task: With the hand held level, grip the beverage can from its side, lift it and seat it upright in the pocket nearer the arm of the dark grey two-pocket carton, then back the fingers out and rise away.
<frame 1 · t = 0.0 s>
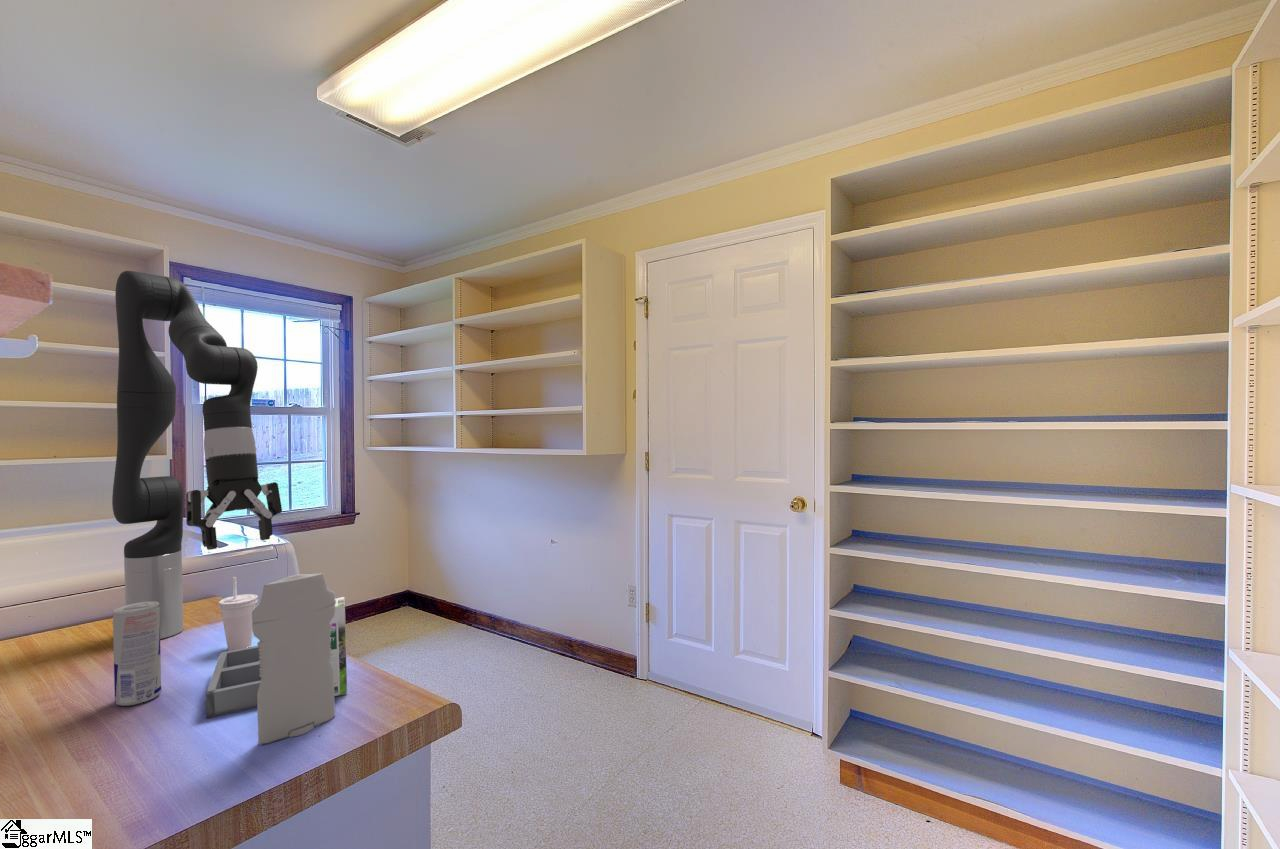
hand: (239, 544, 102), 22 cm above the counter, tool pointing down, fingers open, 8 cm apart
syrup box: (327, 692, 93), on the counter
beverage can: (138, 700, 91), on the counter
smoothie: (239, 648, 112), on the counter
dispenser: (298, 730, 81), on the counter
can carton: (249, 686, 95), on the counter
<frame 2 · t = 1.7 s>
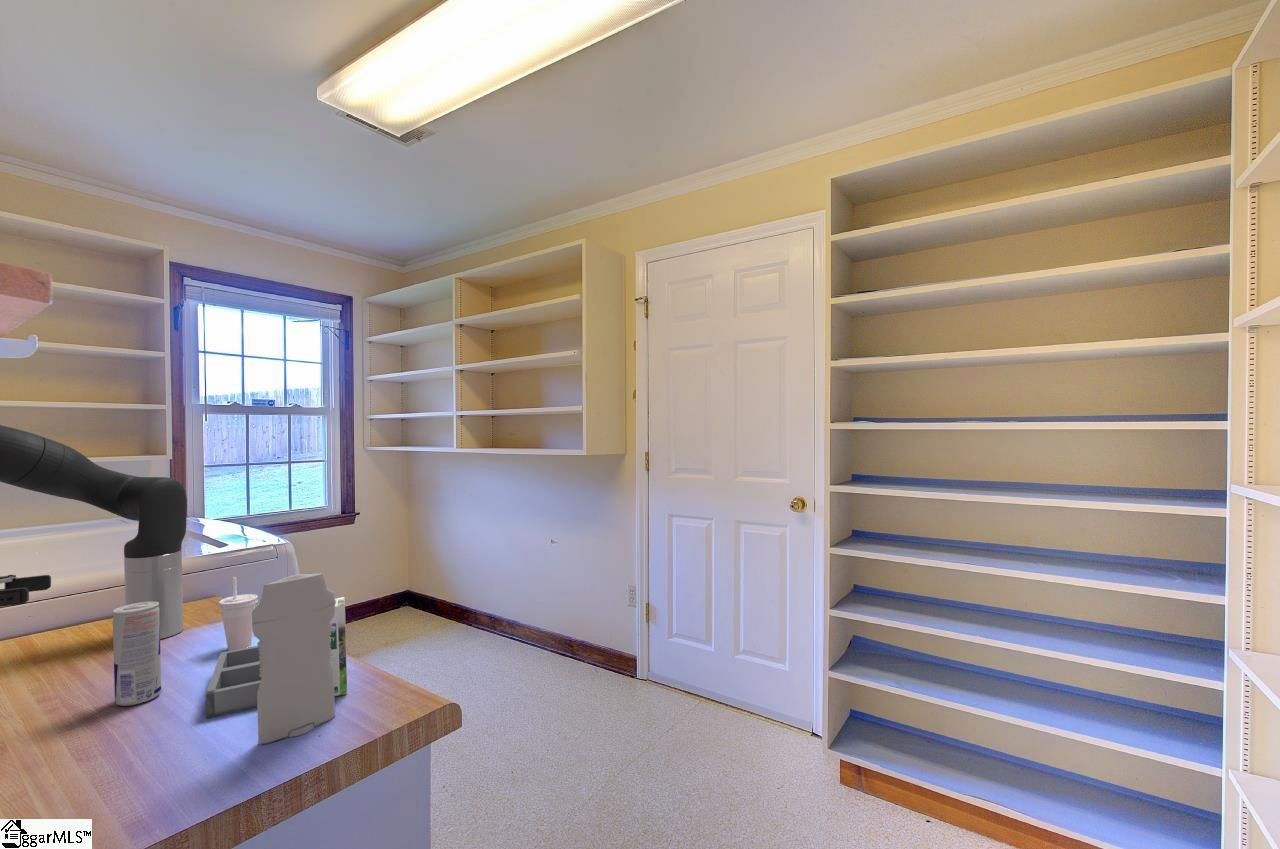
hand: (39, 588, 86), 20 cm above the counter, tool horizontal, fingers open, 8 cm apart
nothing on the counter moved.
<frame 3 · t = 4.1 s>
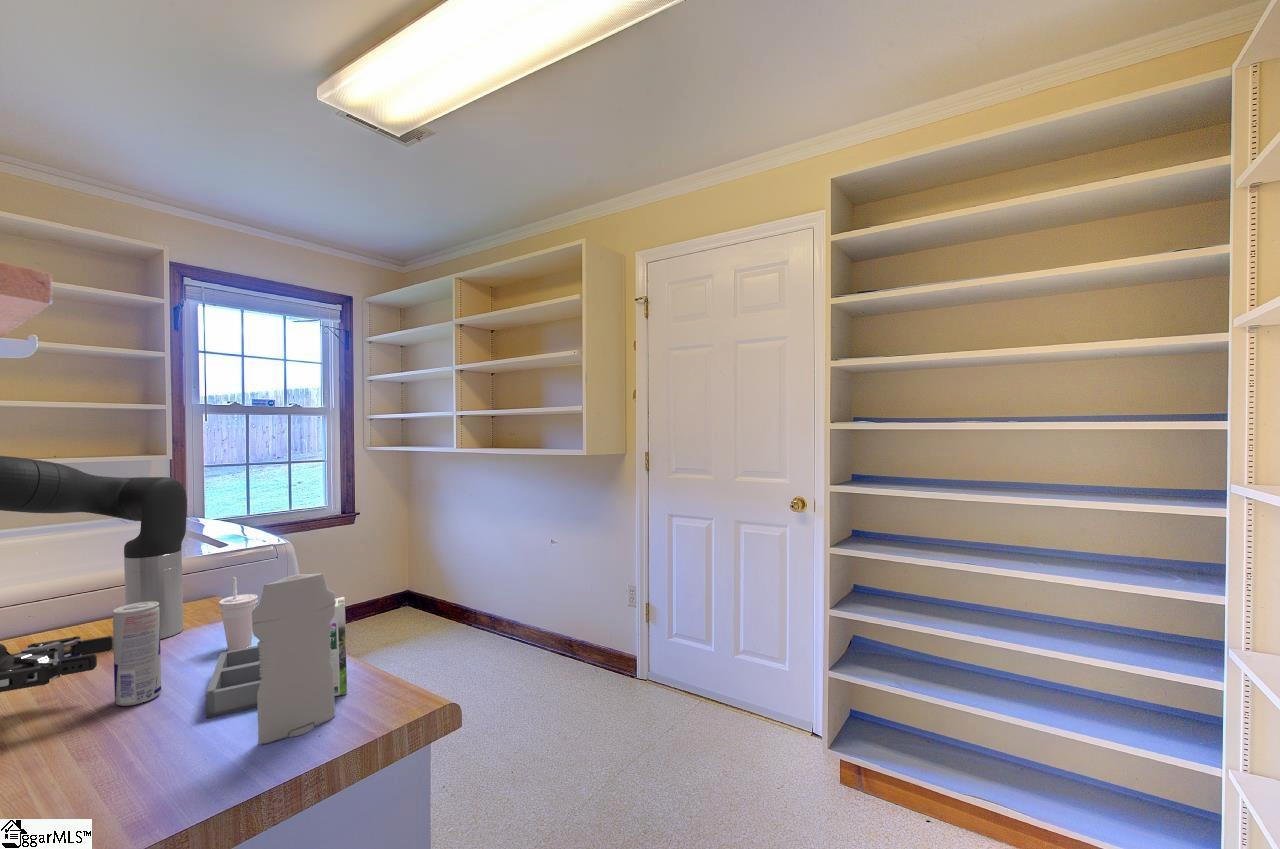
hand: (104, 651, 89), 8 cm above the counter, tool horizontal, fingers open, 8 cm apart
nothing on the counter moved.
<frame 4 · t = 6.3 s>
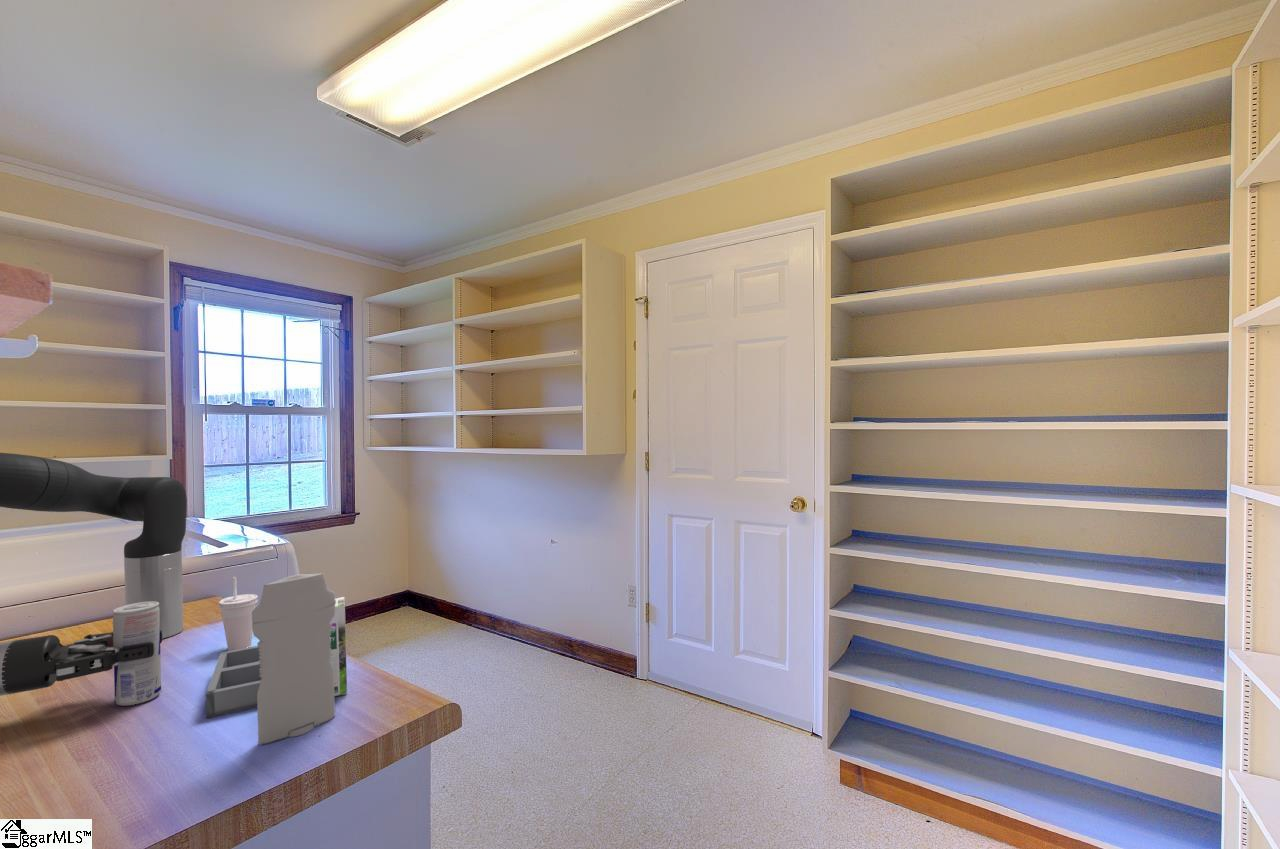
hand: (157, 642, 93), 9 cm above the counter, tool horizontal, fingers closed on beverage can, 5 cm apart
beverage can: (138, 700, 91), on the counter, touching gripper
everything else where it was.
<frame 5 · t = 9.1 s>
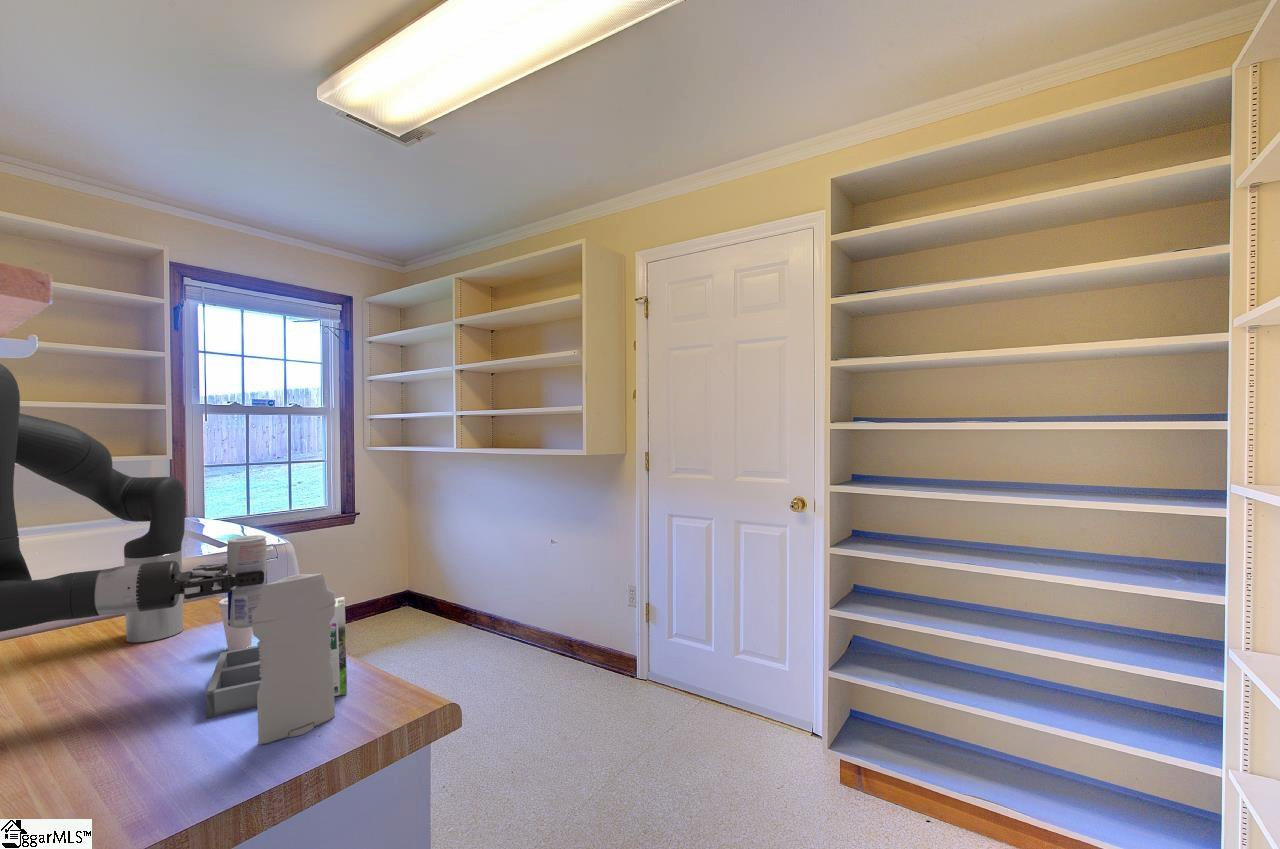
hand: (264, 572, 100), 18 cm above the counter, tool horizontal, fingers closed on beverage can, 5 cm apart
beverage can: (248, 625, 99), point 9 cm above the counter, touching gripper
everything else where it was.
when the fingers open (10 cm above the counter, at t = 11.8 s): beverage can stays where it is, resting on can carton.
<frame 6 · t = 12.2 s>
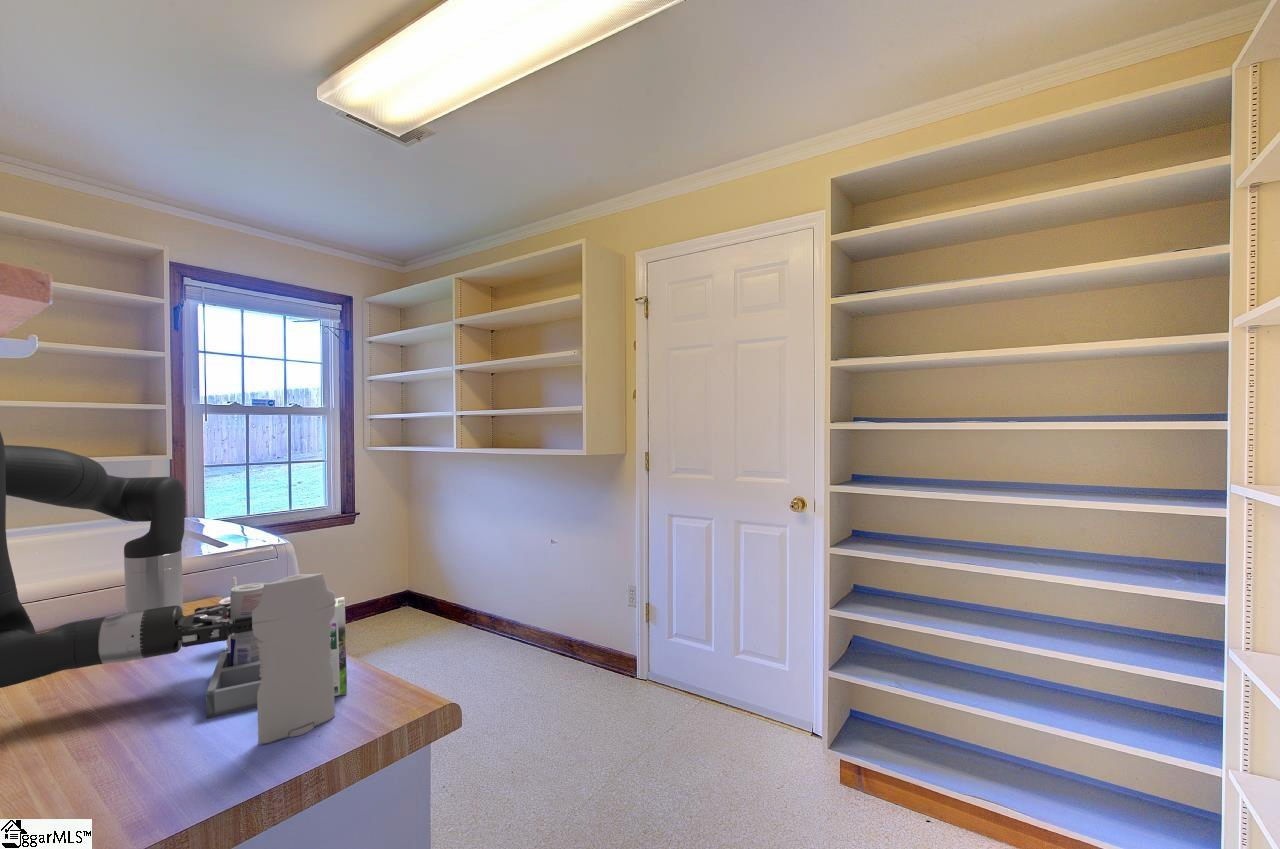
hand: (263, 614, 100), 10 cm above the counter, tool horizontal, fingers open, 8 cm apart
beverage can: (250, 673, 99), resting on can carton
everything else where it was.
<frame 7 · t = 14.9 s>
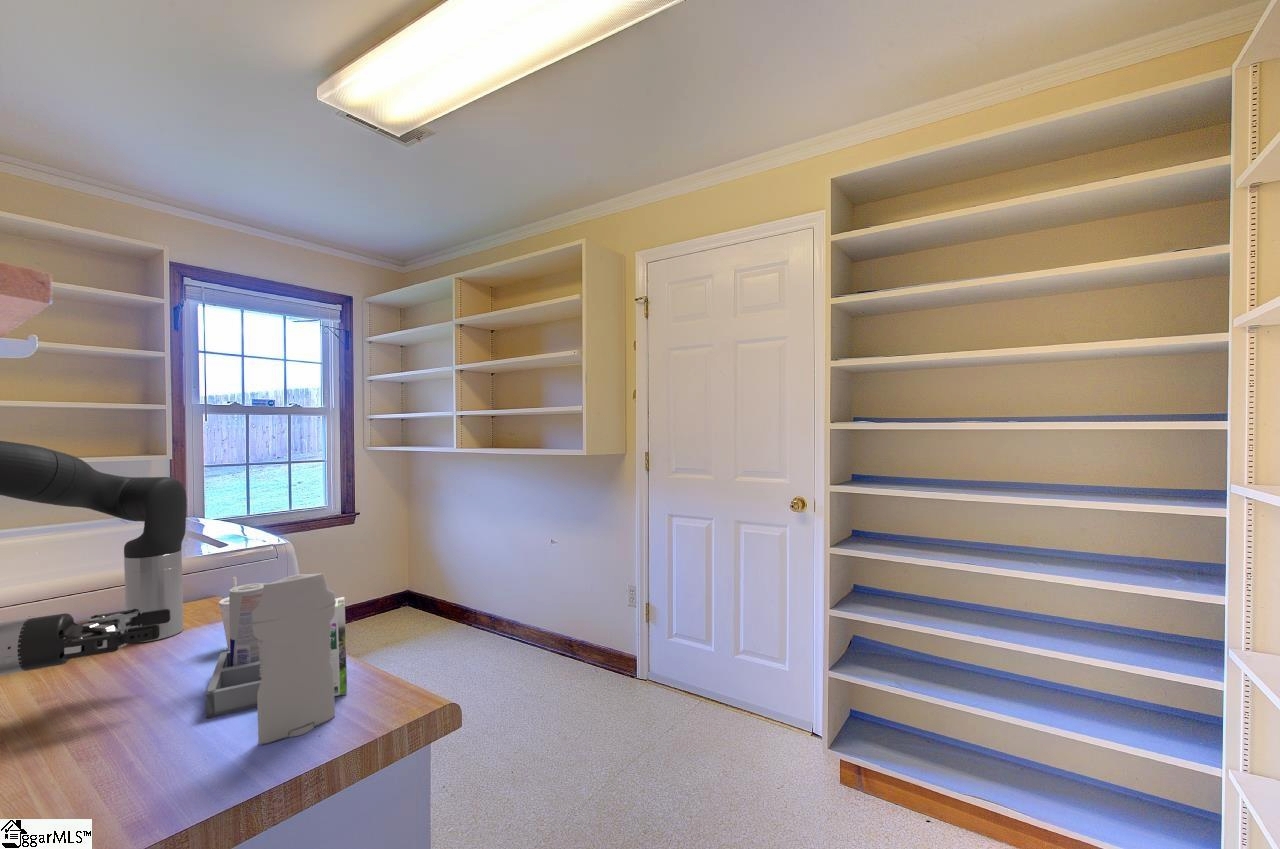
hand: (165, 622, 93), 11 cm above the counter, tool horizontal, fingers open, 8 cm apart
nothing on the counter moved.
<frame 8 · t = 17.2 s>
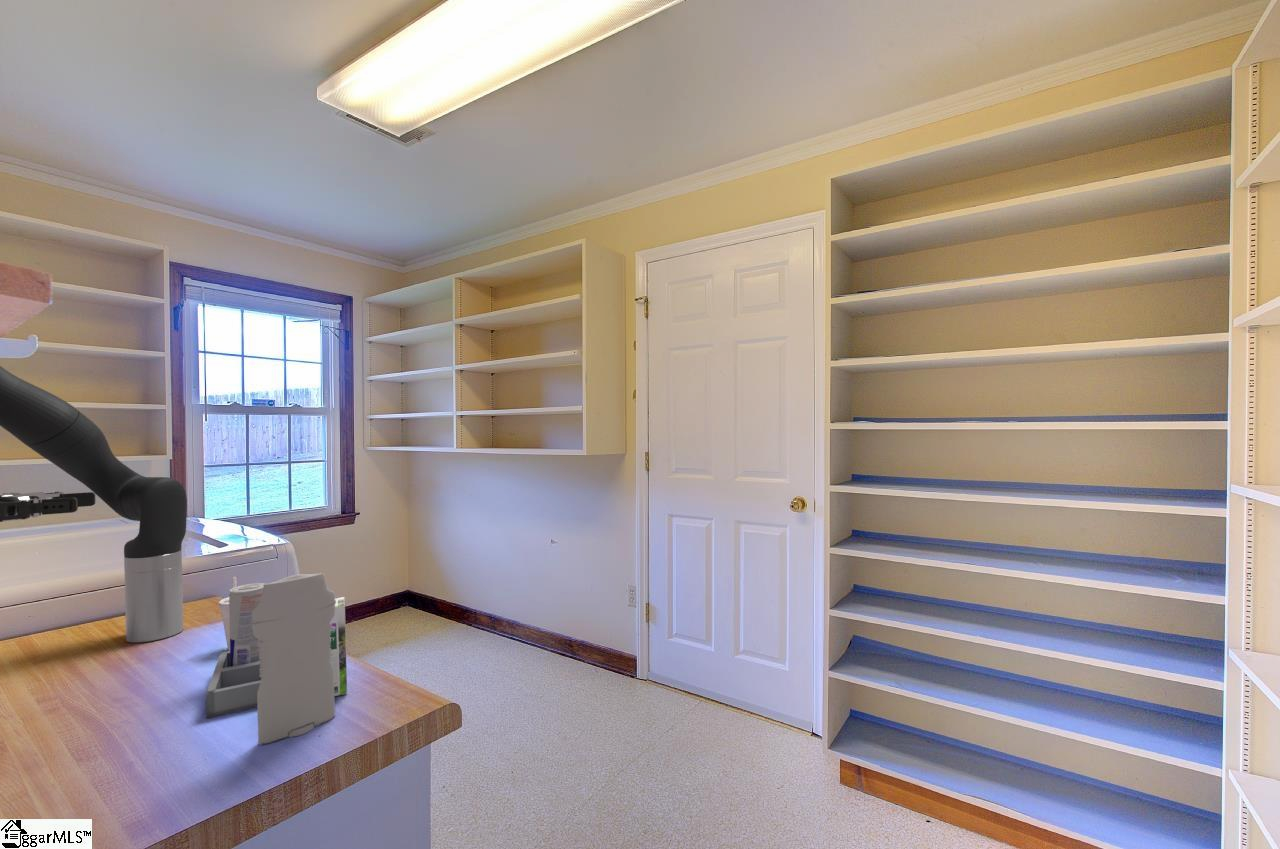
hand: (86, 501, 90), 32 cm above the counter, tool horizontal, fingers open, 8 cm apart
nothing on the counter moved.
at the end: beverage can 0.1 cm from the target spot on the can carton, point 0.4 cm above the can carton's base; beverage can tilted 0°; the gripper is holding nothing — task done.
